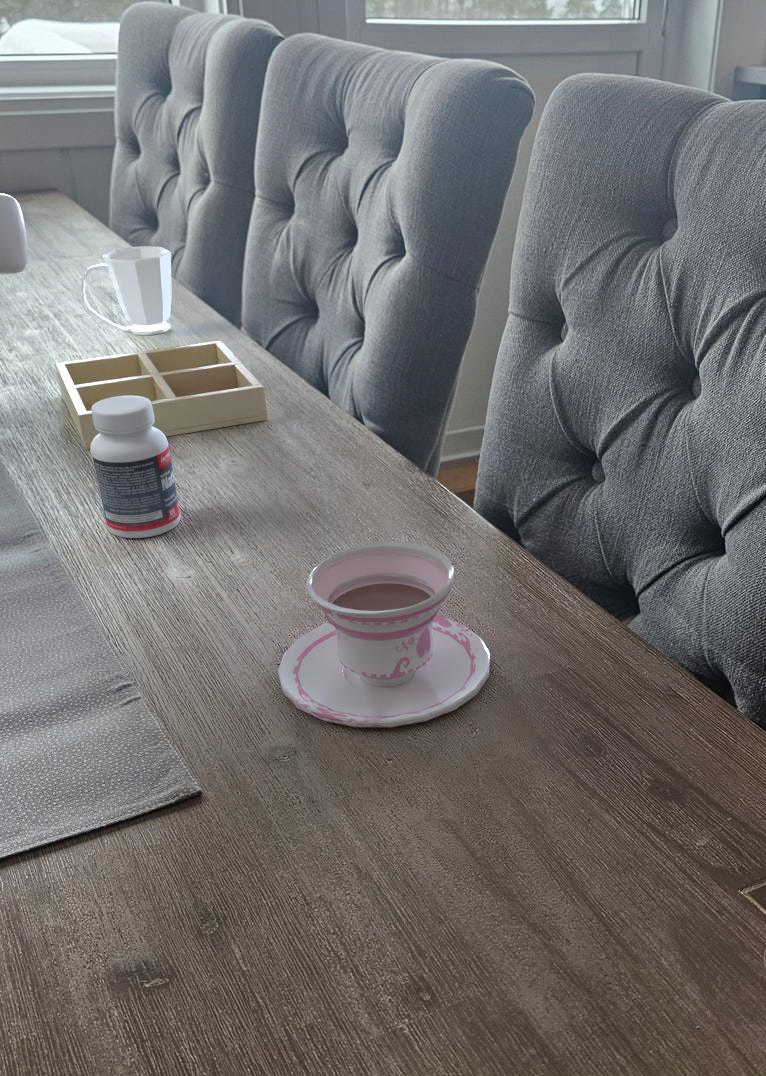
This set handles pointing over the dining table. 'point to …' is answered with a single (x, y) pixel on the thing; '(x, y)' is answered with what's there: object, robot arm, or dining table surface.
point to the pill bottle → (133, 468)
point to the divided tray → (167, 388)
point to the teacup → (383, 641)
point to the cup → (138, 287)
